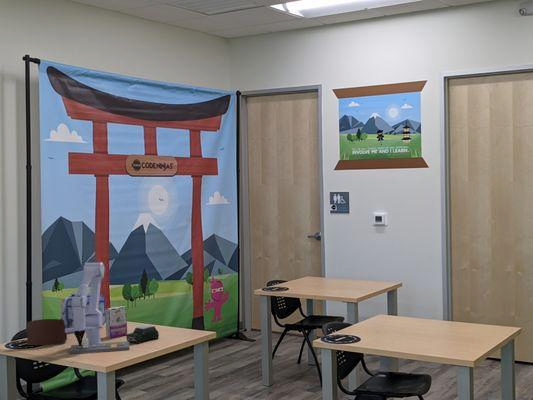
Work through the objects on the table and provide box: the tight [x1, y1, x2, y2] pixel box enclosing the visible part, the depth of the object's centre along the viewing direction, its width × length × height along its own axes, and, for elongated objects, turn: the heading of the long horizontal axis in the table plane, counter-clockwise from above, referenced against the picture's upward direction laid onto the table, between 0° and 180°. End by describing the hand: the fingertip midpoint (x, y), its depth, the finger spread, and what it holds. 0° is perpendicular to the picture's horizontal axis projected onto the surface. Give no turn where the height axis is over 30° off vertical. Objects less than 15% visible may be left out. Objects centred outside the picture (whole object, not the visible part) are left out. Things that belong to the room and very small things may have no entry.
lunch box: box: [60, 293, 107, 328], centre depth 427 cm, size 28×10×22 cm, turn 133°
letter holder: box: [26, 318, 68, 346], centre depth 390 cm, size 10×20×14 cm, turn 99°
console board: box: [68, 340, 130, 355], centre depth 371 cm, size 14×30×2 cm, turn 101°
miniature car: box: [125, 324, 160, 345], centre depth 390 cm, size 9×18×8 cm, turn 141°
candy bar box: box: [105, 305, 128, 339], centre depth 403 cm, size 11×5×16 cm, turn 131°
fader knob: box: [82, 337, 88, 348], centre depth 368 cm, size 4×2×4 cm, turn 11°
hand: (80, 345), depth 368 cm, fingers closed
